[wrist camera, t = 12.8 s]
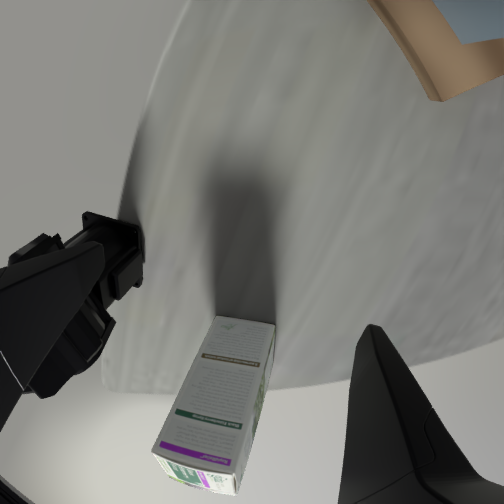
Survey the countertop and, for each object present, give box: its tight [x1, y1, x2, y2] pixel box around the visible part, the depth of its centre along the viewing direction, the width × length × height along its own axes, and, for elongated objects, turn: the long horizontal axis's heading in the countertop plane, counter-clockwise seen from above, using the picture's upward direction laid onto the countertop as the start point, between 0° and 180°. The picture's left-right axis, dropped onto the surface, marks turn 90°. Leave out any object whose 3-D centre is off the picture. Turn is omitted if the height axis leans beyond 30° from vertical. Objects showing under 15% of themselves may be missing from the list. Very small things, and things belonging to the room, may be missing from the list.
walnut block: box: [367, 0, 504, 102], centre depth 11 cm, size 10×10×3 cm
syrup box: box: [152, 315, 275, 496], centre depth 23 cm, size 6×6×14 cm
